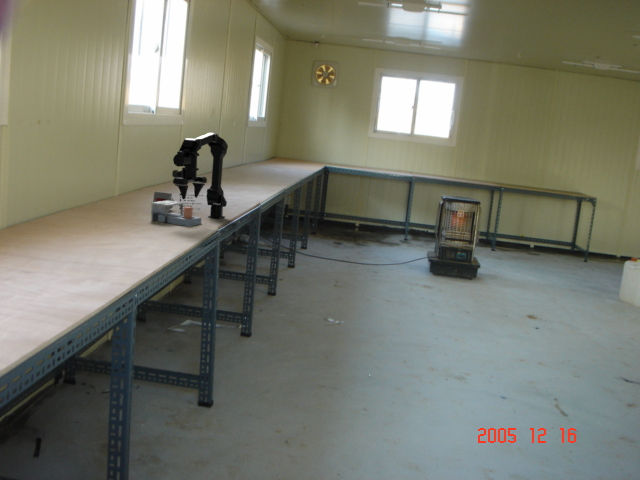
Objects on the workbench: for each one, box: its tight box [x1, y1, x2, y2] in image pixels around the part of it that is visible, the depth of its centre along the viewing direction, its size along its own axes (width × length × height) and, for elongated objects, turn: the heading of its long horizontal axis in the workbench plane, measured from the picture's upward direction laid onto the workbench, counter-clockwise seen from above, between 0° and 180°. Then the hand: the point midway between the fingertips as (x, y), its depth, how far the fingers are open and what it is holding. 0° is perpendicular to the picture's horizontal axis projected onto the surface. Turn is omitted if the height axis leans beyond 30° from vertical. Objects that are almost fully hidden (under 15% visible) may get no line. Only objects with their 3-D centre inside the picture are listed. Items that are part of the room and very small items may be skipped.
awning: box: [150, 200, 184, 224], centre depth 285 cm, size 13×9×9 cm
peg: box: [183, 206, 194, 219], centre depth 280 cm, size 4×4×8 cm
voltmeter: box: [152, 191, 204, 213], centre depth 316 cm, size 27×11×10 cm, turn 106°
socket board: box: [157, 212, 202, 227], centre depth 283 cm, size 10×18×3 cm, turn 64°
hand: (189, 198), depth 279 cm, fingers open, 9 cm apart
